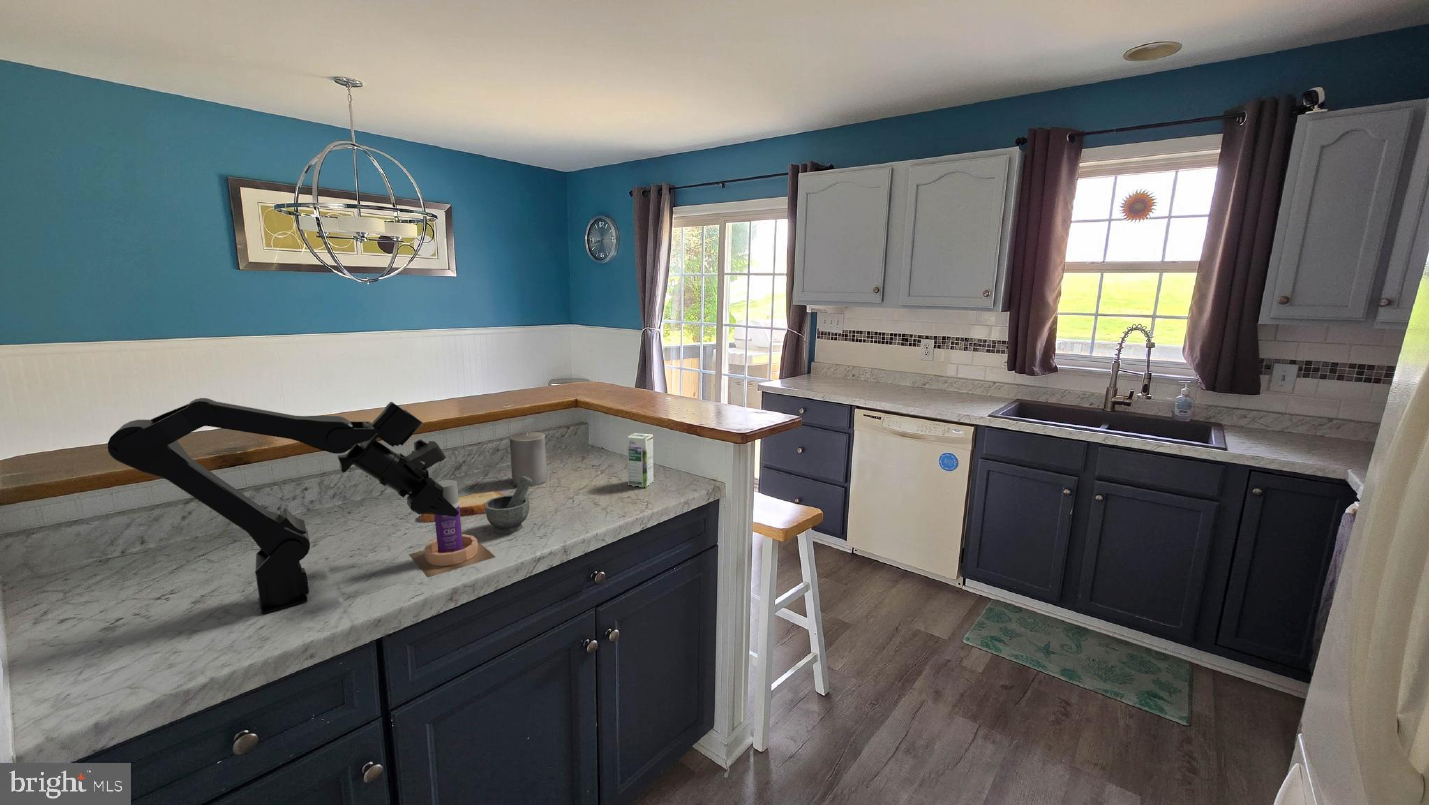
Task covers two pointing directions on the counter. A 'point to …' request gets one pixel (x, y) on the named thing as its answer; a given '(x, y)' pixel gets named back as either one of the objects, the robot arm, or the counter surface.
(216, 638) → the counter surface
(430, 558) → the terracotta dish
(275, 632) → the counter surface
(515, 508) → the mortar and pestle
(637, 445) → the syrup box
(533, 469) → the pillar candle
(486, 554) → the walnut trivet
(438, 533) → the container
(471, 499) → the bread slice
